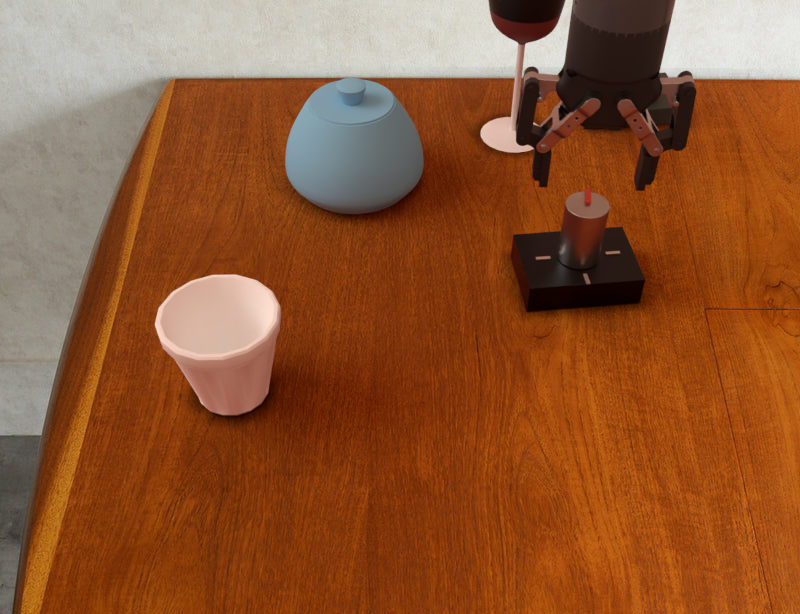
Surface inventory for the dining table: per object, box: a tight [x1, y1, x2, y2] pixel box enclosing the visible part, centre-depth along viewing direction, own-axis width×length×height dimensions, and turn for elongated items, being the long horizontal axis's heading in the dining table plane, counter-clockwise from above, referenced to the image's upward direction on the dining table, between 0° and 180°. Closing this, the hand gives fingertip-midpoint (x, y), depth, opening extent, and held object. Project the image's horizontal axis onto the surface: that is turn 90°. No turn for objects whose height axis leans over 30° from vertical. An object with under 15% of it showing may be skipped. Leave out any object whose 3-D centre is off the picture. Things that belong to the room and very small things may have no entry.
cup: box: [154, 273, 282, 417], centre depth 75 cm, size 10×10×9 cm
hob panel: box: [510, 226, 646, 313], centre depth 87 cm, size 11×8×3 cm
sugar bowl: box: [284, 77, 425, 215], centre depth 94 cm, size 15×15×12 cm
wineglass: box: [480, 0, 566, 154], centre depth 97 cm, size 8×9×20 cm
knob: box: [557, 188, 611, 269], centre depth 83 cm, size 4×4×6 cm
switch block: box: [625, 72, 672, 128], centre depth 107 cm, size 11×8×4 cm
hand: (590, 183), depth 80 cm, fingers open, 8 cm apart
